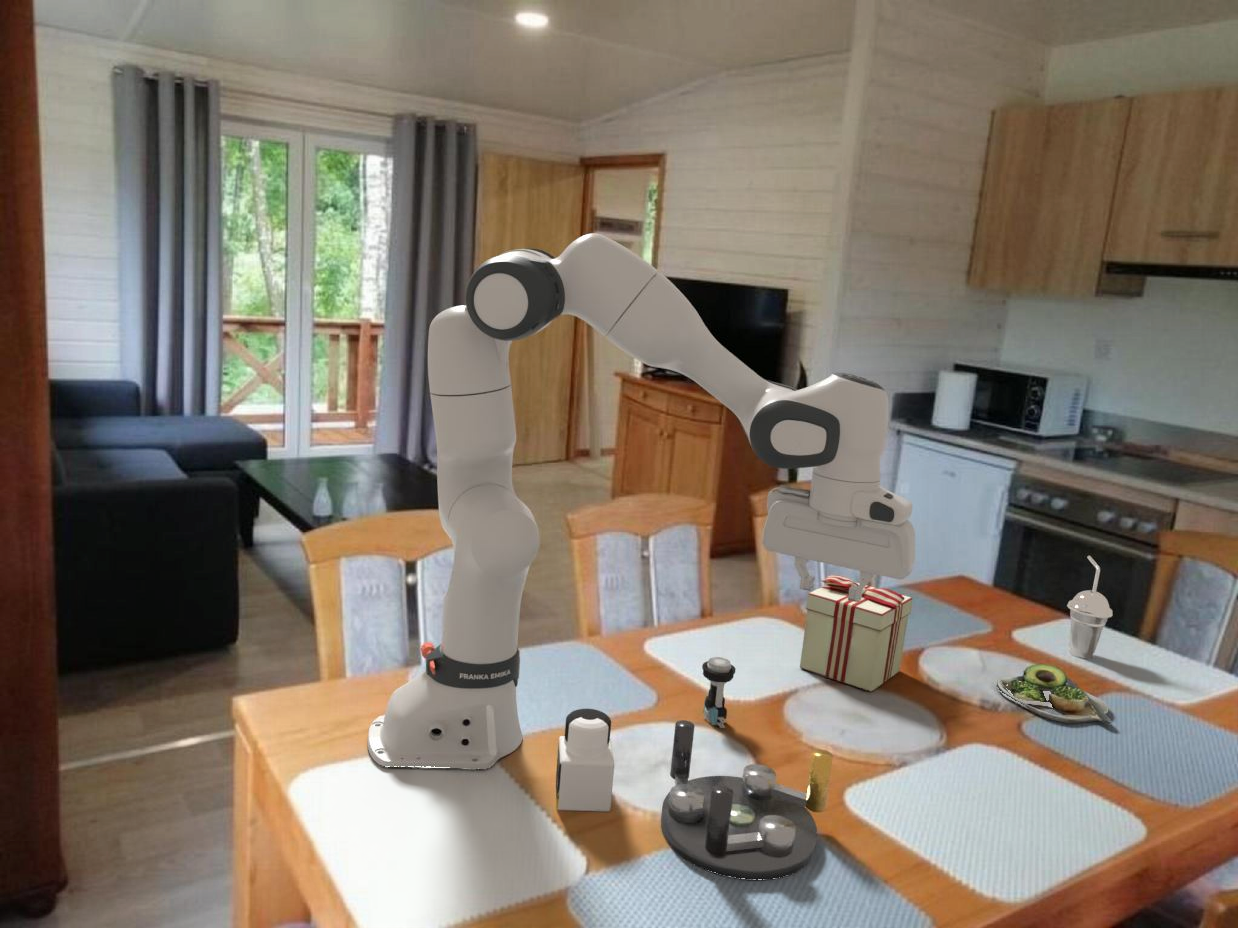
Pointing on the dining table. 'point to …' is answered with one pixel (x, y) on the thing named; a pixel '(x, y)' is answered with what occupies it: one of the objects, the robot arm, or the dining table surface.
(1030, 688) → the salad plate
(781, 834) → the front black footscrew
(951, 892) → the dining table surface
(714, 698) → the push button
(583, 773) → the white and black device
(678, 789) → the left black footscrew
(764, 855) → the levelling plate
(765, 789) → the amber footscrew
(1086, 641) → the cup with straw
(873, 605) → the gift box
